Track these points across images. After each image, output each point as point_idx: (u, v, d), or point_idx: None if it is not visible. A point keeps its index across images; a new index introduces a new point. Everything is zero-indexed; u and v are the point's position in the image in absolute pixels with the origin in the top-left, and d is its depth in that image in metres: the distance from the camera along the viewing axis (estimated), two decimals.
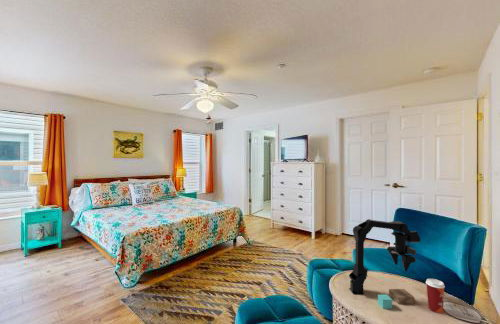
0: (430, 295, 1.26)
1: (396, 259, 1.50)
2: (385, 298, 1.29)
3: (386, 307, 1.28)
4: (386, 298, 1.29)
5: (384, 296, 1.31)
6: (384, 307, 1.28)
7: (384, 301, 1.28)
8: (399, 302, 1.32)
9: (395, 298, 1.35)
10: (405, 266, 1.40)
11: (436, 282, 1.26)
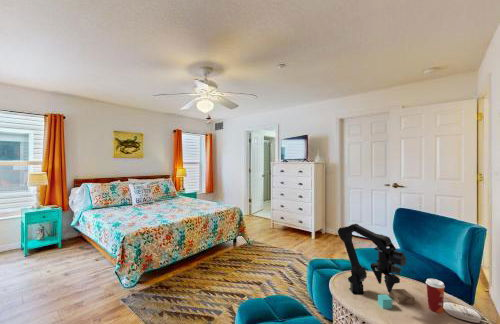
0: (430, 295, 1.26)
1: (379, 277, 1.35)
2: (384, 298, 1.29)
3: (386, 307, 1.28)
4: (386, 298, 1.29)
5: (384, 296, 1.31)
6: (384, 307, 1.28)
7: (384, 301, 1.28)
8: (399, 302, 1.32)
9: (395, 298, 1.35)
10: (388, 287, 1.25)
11: (436, 282, 1.26)
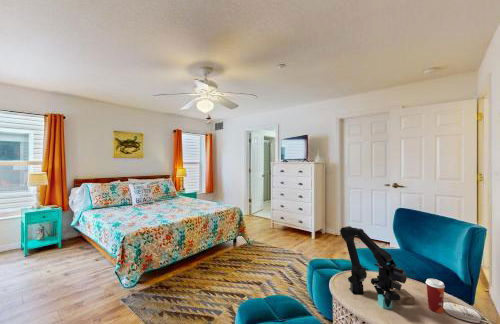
0: (430, 295, 1.26)
1: None
2: None
3: (386, 307, 1.28)
4: None
5: None
6: (384, 307, 1.28)
7: (384, 301, 1.28)
8: (399, 302, 1.32)
9: None
10: (387, 302, 1.27)
11: (436, 282, 1.26)
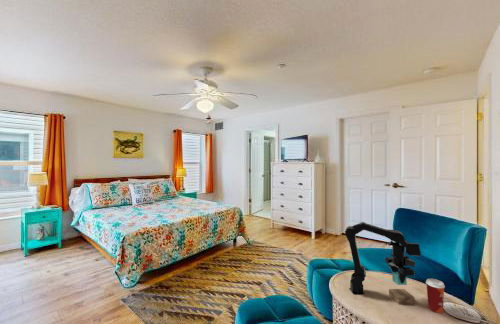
0: (430, 295, 1.26)
1: None
2: None
3: (400, 283, 1.33)
4: None
5: None
6: (399, 283, 1.33)
7: (398, 277, 1.33)
8: (399, 302, 1.32)
9: (395, 298, 1.35)
10: (401, 278, 1.32)
11: (436, 282, 1.26)
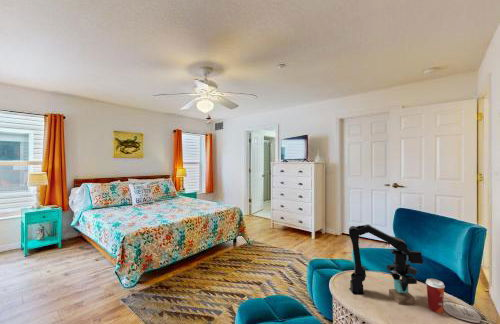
0: (430, 295, 1.26)
1: None
2: None
3: (402, 291, 1.34)
4: None
5: None
6: (400, 291, 1.34)
7: (400, 285, 1.34)
8: (399, 302, 1.32)
9: (395, 298, 1.35)
10: (403, 286, 1.33)
11: (436, 282, 1.26)
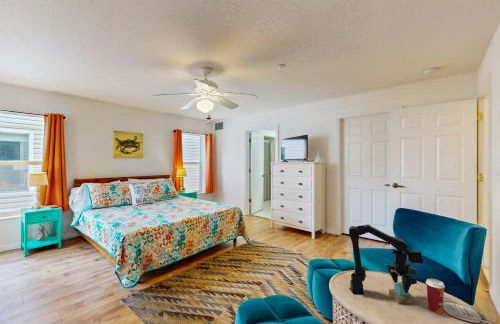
0: (430, 295, 1.26)
1: (396, 278, 1.41)
2: (401, 285, 1.35)
3: (402, 294, 1.34)
4: (402, 285, 1.35)
5: (400, 284, 1.37)
6: (401, 294, 1.34)
7: (401, 288, 1.34)
8: (399, 302, 1.32)
9: (395, 298, 1.35)
10: (405, 288, 1.31)
11: (436, 282, 1.26)
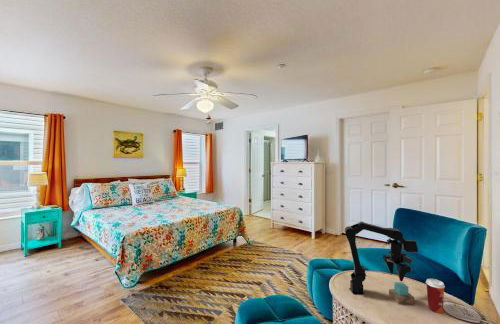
0: (430, 295, 1.26)
1: (391, 267, 1.43)
2: (401, 285, 1.35)
3: (402, 294, 1.34)
4: (402, 285, 1.35)
5: (400, 284, 1.37)
6: (400, 294, 1.34)
7: (401, 288, 1.34)
8: (399, 302, 1.32)
9: (395, 298, 1.35)
10: (400, 276, 1.33)
11: (436, 282, 1.26)
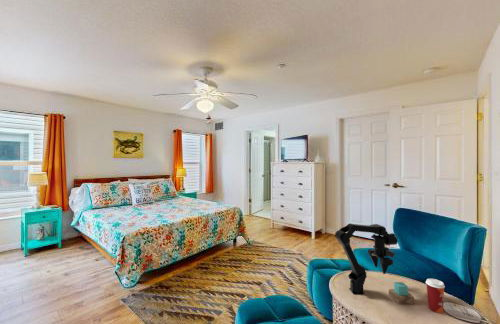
0: (430, 295, 1.26)
1: (376, 261, 1.52)
2: (400, 285, 1.36)
3: (402, 294, 1.34)
4: (402, 285, 1.35)
5: (400, 283, 1.37)
6: (400, 294, 1.34)
7: (400, 288, 1.34)
8: (399, 302, 1.32)
9: (395, 298, 1.35)
10: (383, 268, 1.42)
11: (436, 282, 1.26)
